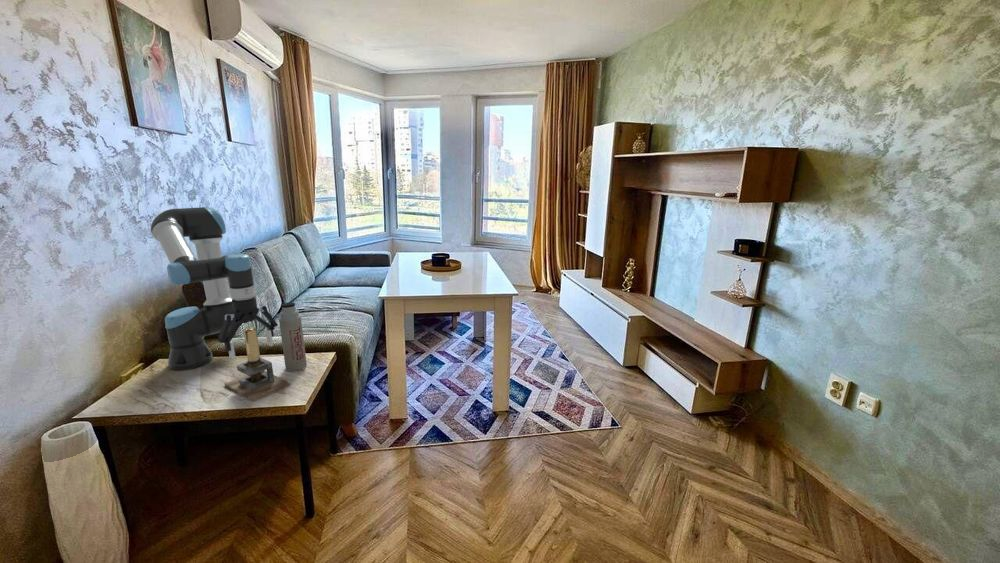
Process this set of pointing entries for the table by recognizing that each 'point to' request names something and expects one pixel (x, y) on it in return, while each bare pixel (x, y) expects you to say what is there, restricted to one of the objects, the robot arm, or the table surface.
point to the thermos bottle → (292, 337)
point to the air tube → (253, 352)
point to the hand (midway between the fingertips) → (252, 351)
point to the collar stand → (258, 388)
